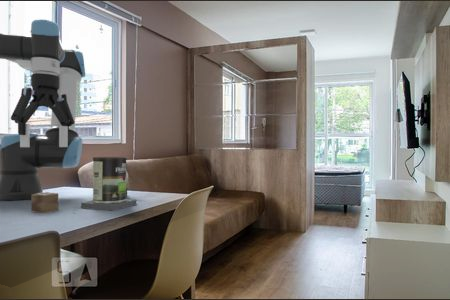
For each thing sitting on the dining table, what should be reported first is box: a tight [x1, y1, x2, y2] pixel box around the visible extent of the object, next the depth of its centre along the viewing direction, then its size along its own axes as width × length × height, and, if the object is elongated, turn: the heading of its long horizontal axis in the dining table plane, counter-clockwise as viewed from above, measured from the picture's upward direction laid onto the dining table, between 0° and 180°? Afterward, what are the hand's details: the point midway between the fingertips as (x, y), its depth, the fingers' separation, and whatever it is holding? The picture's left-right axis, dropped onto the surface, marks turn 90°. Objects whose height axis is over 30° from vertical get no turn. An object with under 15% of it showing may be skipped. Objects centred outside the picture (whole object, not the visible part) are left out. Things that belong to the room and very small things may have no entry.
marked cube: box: [30, 191, 59, 214], centre depth 104 cm, size 5×5×5 cm
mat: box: [80, 198, 137, 211], centre depth 113 cm, size 12×12×2 cm
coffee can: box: [92, 156, 128, 204], centre depth 113 cm, size 10×10×14 cm
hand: (45, 147), depth 104 cm, fingers open, 13 cm apart
